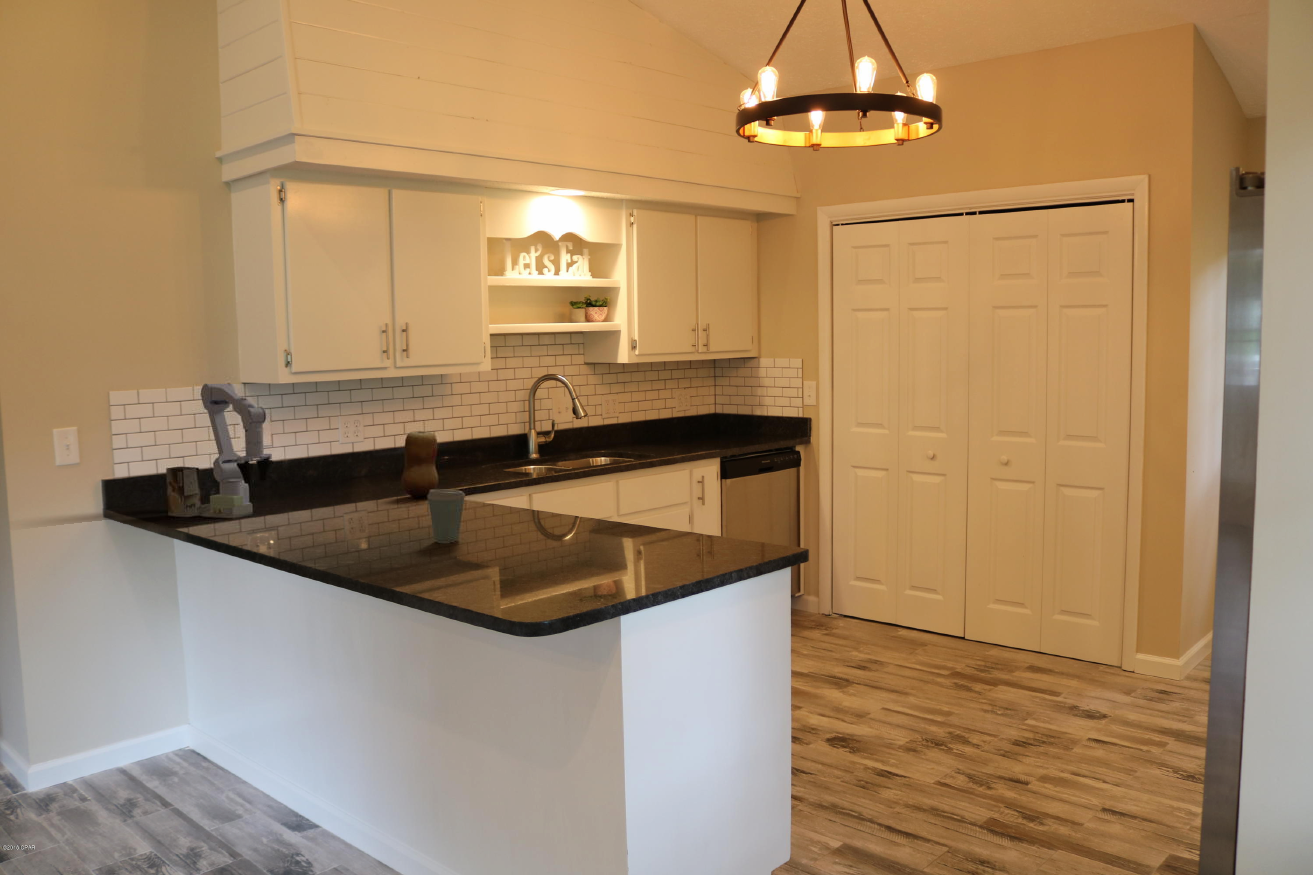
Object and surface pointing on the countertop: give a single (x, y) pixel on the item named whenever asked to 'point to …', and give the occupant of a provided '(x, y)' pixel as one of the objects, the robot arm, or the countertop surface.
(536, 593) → the countertop surface
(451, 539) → the disposable coffee cup
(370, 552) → the countertop surface
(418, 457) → the butternut squash
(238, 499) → the board
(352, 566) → the countertop surface
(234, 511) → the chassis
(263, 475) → the robot arm
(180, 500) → the coffee box
